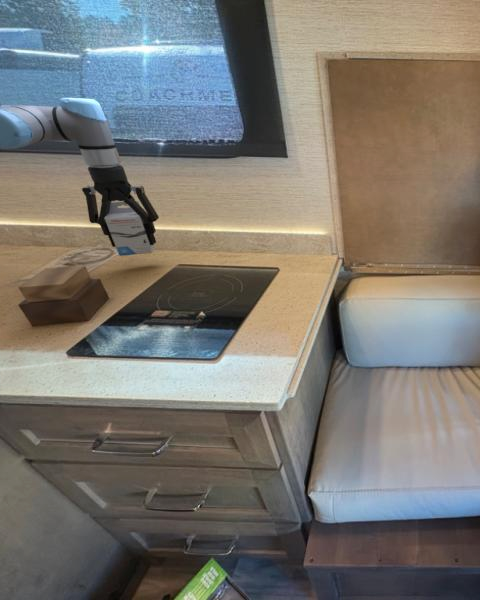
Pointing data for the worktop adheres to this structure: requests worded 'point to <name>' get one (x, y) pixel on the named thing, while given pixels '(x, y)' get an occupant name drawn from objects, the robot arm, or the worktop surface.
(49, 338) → the worktop surface
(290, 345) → the worktop surface
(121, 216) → the ink box
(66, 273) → the box stack
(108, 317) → the worktop surface
